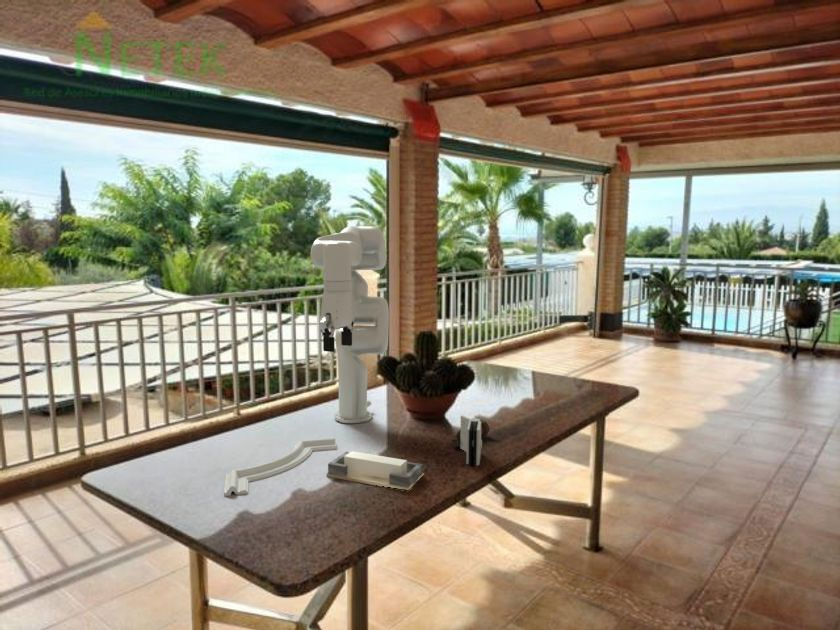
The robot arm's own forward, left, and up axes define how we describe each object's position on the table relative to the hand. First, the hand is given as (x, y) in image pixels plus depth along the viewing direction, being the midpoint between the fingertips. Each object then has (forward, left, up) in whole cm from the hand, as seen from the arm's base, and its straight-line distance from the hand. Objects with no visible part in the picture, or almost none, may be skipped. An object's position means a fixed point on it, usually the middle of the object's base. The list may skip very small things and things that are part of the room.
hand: (338, 348), depth 165 cm
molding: (+15, -8, -31) cm, 35 cm away
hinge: (-12, +35, -31) cm, 48 cm away
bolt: (-24, +31, -31) cm, 50 cm away
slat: (+11, +17, -30) cm, 36 cm away
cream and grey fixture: (+11, +17, -30) cm, 36 cm away
